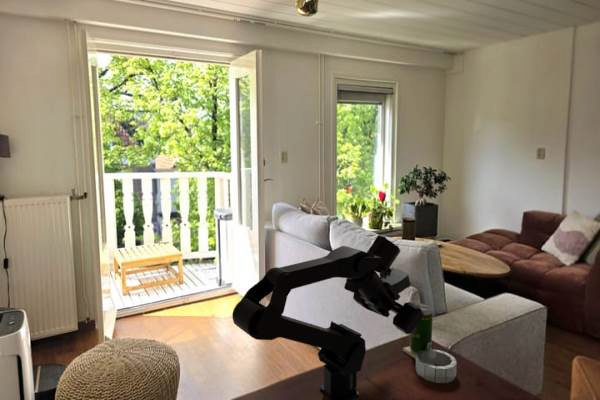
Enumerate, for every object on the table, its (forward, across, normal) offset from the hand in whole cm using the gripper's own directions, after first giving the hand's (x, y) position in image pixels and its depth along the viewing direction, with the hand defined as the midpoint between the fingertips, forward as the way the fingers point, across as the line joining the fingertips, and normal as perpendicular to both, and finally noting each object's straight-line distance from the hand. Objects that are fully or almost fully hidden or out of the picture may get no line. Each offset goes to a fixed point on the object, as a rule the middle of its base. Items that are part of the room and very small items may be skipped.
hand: (401, 323), depth 102 cm
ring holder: (+11, -8, +3) cm, 14 cm away
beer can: (+13, 0, +1) cm, 13 cm away
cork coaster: (+14, 0, +1) cm, 14 cm away
